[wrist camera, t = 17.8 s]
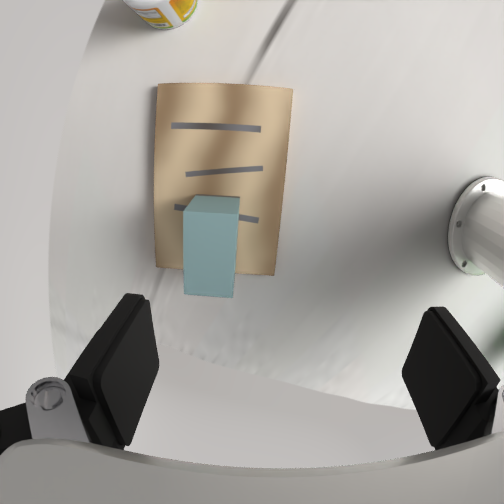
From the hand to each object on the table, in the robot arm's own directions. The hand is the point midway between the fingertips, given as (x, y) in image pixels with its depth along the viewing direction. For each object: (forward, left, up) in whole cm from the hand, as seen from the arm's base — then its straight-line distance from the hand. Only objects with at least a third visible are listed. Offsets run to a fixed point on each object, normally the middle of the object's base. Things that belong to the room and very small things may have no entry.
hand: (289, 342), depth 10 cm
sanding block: (+4, +3, -20) cm, 21 cm away
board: (+4, -1, -21) cm, 22 cm away
